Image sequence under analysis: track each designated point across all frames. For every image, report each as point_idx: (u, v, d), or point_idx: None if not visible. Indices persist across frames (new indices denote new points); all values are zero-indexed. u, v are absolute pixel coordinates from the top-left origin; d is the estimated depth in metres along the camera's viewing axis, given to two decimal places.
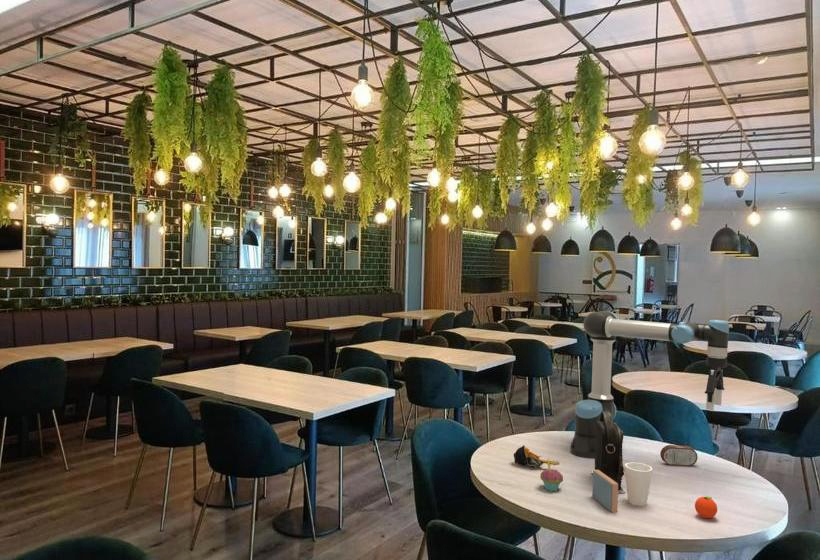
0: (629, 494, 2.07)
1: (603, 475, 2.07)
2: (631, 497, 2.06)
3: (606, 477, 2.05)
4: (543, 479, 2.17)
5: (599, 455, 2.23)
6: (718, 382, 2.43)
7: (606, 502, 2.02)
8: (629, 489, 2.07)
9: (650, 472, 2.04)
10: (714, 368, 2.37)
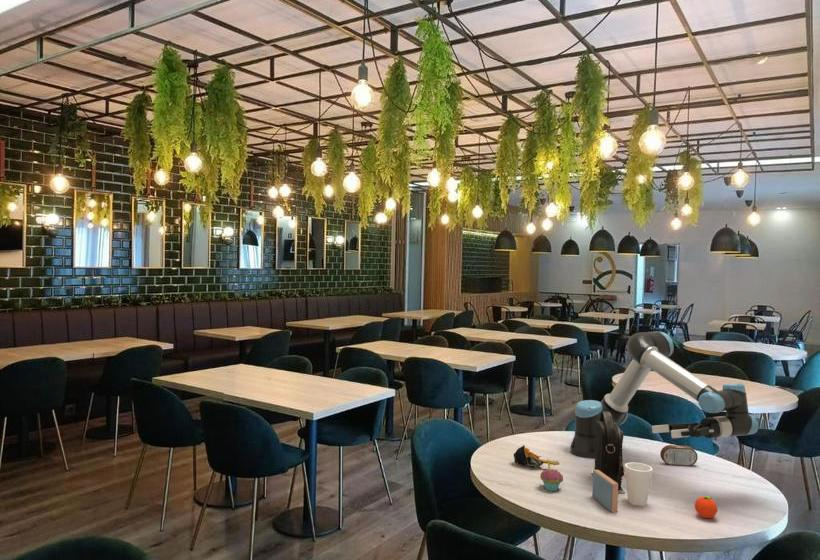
0: (629, 494, 2.07)
1: (603, 475, 2.07)
2: (631, 497, 2.06)
3: (606, 477, 2.05)
4: (543, 479, 2.17)
5: (599, 455, 2.23)
6: (680, 429, 2.19)
7: (606, 502, 2.02)
8: (629, 489, 2.07)
9: (650, 472, 2.04)
10: None
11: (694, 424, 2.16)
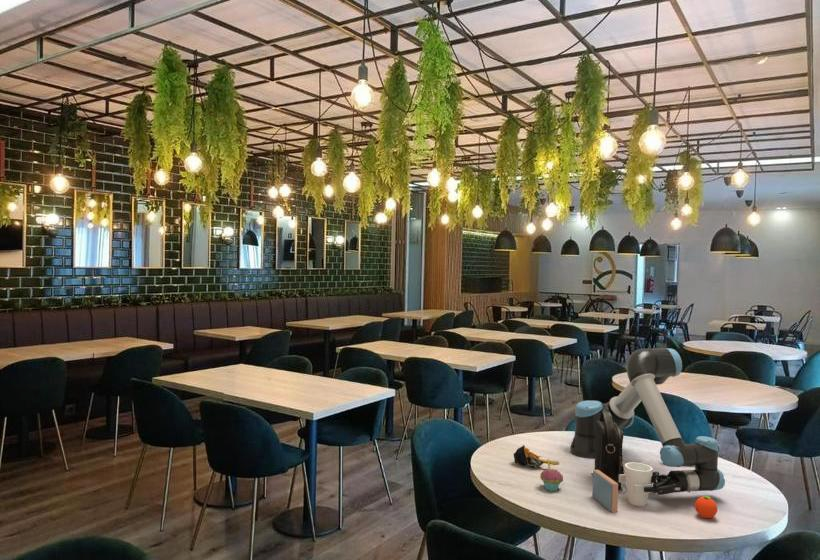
0: (629, 494, 2.07)
1: (603, 475, 2.07)
2: (631, 497, 2.06)
3: (606, 477, 2.05)
4: (543, 479, 2.17)
5: (599, 455, 2.23)
6: None
7: (606, 502, 2.02)
8: (629, 489, 2.07)
9: (650, 472, 2.04)
10: None
11: (663, 476, 2.11)
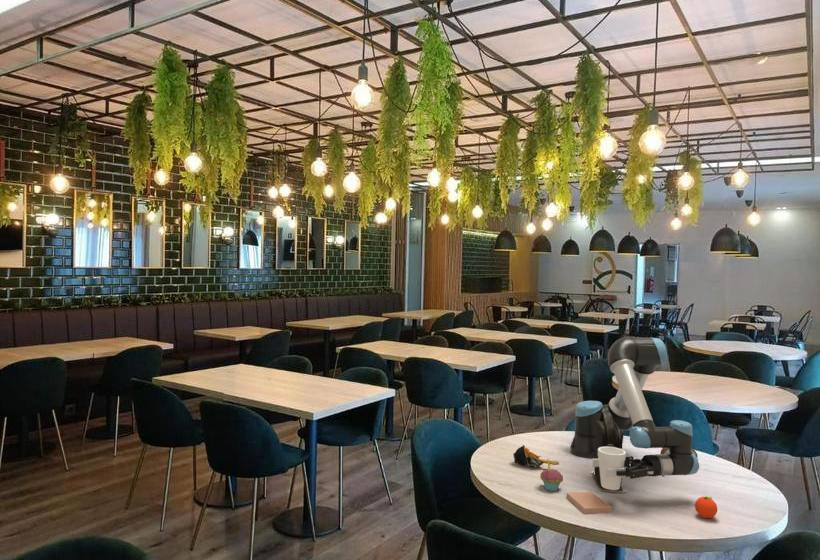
0: (602, 478, 2.04)
1: (573, 502, 2.05)
2: (604, 481, 2.04)
3: (576, 504, 2.03)
4: (543, 479, 2.17)
5: None
6: None
7: None
8: (602, 473, 2.04)
9: (623, 456, 2.02)
10: None
11: (636, 461, 2.08)
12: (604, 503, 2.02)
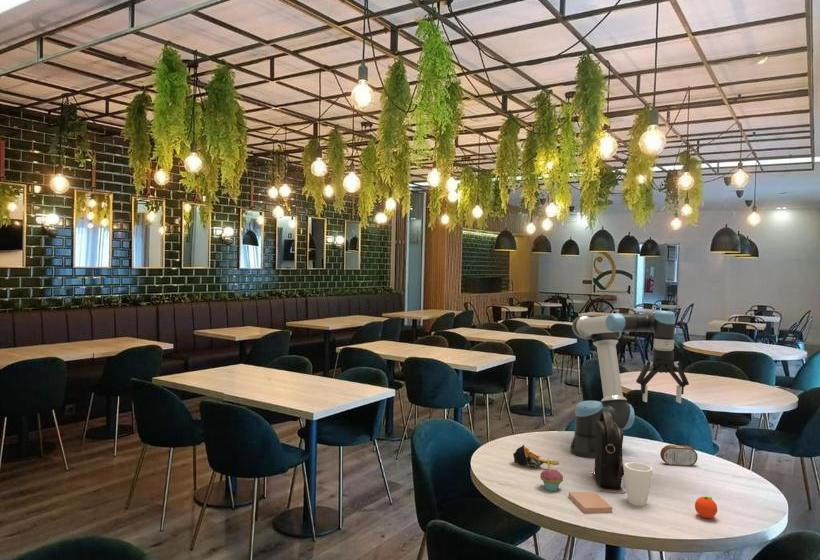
0: (629, 494, 2.07)
1: (575, 501, 2.05)
2: (631, 497, 2.06)
3: (577, 503, 2.04)
4: (543, 479, 2.17)
5: (599, 455, 2.23)
6: (674, 377, 2.30)
7: None
8: (629, 489, 2.07)
9: (650, 472, 2.04)
10: (654, 360, 2.30)
11: None
12: (606, 503, 2.02)
